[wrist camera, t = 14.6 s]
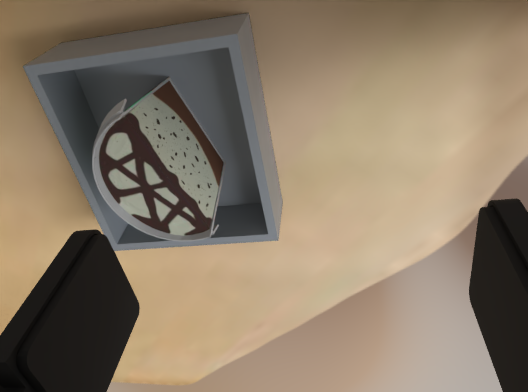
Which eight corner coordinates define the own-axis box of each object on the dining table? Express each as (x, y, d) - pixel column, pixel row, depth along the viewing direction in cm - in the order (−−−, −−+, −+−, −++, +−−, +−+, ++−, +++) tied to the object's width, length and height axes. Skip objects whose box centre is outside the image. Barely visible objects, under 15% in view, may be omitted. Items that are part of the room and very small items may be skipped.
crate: (248, 13, 35) (237, 33, 30) (282, 202, 45) (278, 240, 40) (60, 42, 38) (22, 66, 33) (133, 213, 48) (112, 250, 43)
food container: (104, 91, 39) (48, 146, 31) (159, 60, 37) (114, 110, 29) (182, 195, 45) (152, 264, 37) (234, 173, 43) (214, 242, 34)
